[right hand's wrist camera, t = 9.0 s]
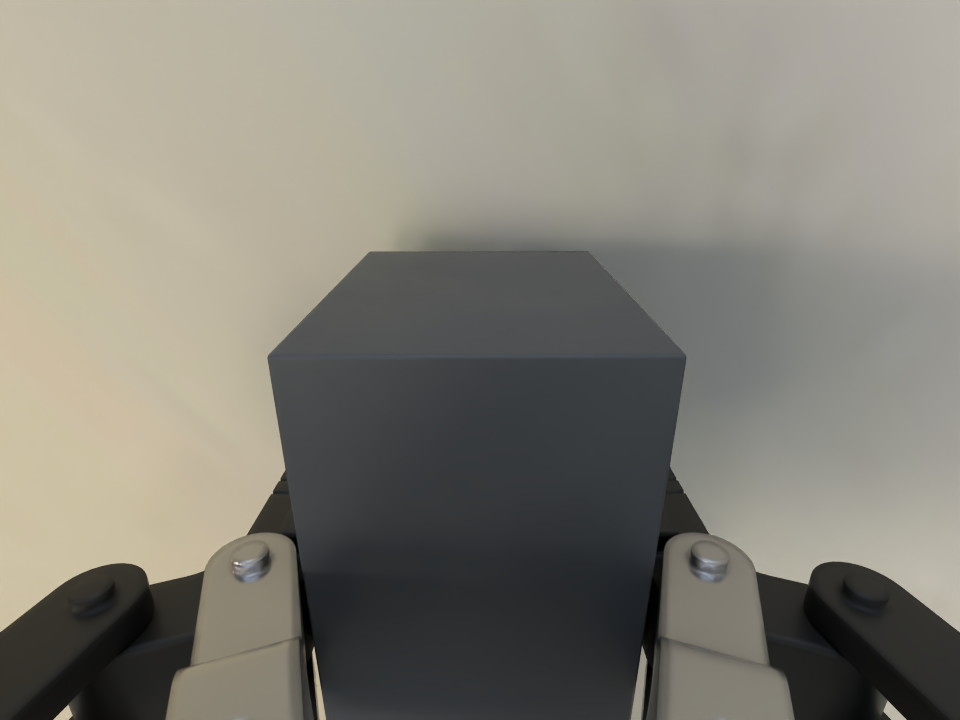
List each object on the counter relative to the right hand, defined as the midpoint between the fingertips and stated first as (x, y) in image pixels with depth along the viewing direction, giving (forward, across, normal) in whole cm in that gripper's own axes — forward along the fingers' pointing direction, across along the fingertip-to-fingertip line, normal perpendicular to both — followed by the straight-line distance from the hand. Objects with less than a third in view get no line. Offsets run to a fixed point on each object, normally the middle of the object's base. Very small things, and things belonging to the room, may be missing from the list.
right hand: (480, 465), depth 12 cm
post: (+2, 0, -33) cm, 33 cm away
